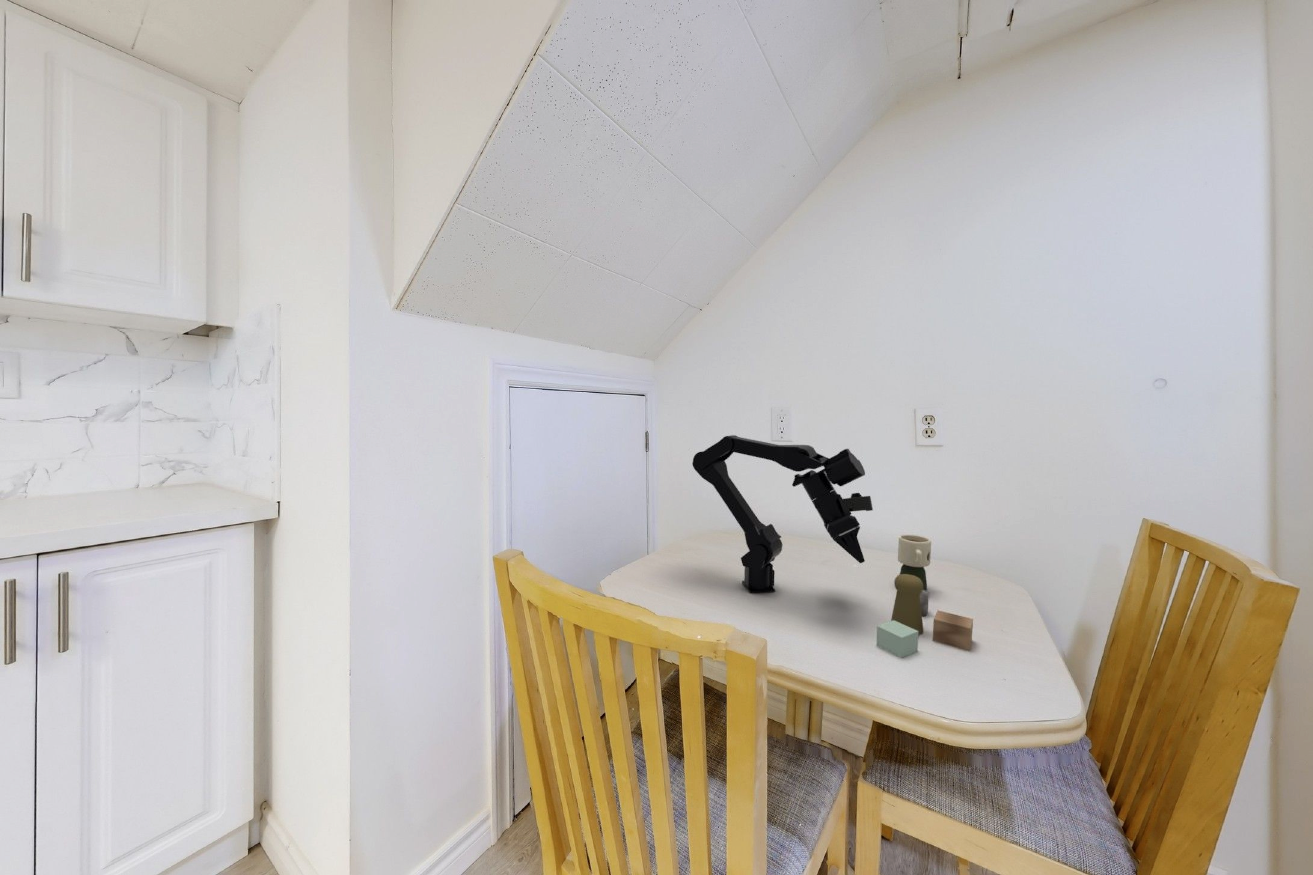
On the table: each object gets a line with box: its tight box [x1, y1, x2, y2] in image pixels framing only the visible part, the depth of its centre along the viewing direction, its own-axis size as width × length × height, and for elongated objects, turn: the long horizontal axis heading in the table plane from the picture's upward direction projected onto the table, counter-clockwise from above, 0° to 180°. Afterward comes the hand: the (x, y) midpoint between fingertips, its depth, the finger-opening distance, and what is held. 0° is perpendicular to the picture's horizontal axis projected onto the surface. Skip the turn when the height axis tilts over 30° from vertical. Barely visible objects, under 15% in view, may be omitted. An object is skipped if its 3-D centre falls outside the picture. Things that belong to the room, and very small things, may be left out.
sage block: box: [875, 620, 919, 659], centre depth 87 cm, size 5×5×4 cm
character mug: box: [897, 534, 932, 591], centre depth 115 cm, size 11×7×13 cm, turn 163°
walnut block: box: [932, 609, 974, 652], centre depth 90 cm, size 6×5×4 cm
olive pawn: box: [890, 573, 924, 636], centre depth 95 cm, size 6×6×11 cm
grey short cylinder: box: [920, 590, 930, 617], centre depth 103 cm, size 5×5×4 cm
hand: (860, 559), depth 101 cm, fingers open, 9 cm apart
